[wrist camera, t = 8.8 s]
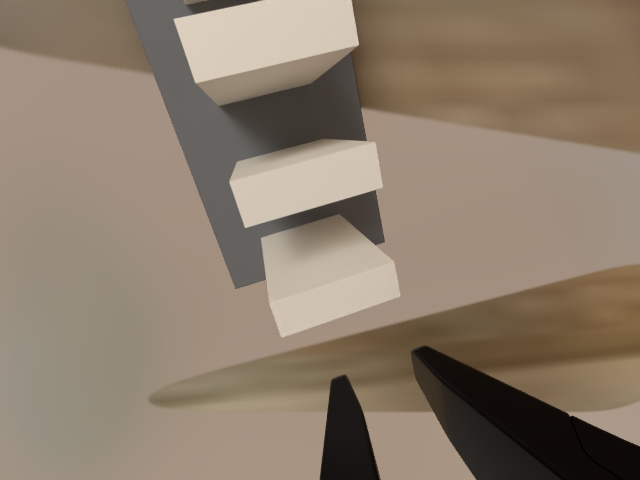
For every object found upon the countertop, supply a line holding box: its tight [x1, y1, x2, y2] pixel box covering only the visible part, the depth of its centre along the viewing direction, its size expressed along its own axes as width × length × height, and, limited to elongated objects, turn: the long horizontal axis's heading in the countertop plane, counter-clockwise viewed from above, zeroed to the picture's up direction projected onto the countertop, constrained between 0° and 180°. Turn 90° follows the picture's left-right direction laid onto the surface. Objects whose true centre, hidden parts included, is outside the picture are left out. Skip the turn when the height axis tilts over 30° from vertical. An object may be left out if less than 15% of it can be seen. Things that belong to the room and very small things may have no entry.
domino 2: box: [229, 139, 383, 228], centre depth 14 cm, size 2×5×8 cm, turn 104°
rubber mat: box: [125, 0, 385, 289], centre depth 16 cm, size 10×26×1 cm, turn 14°
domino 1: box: [174, 0, 359, 106], centre depth 13 cm, size 2×5×8 cm, turn 104°
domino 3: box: [261, 214, 400, 337], centre depth 16 cm, size 2×5×8 cm, turn 104°
